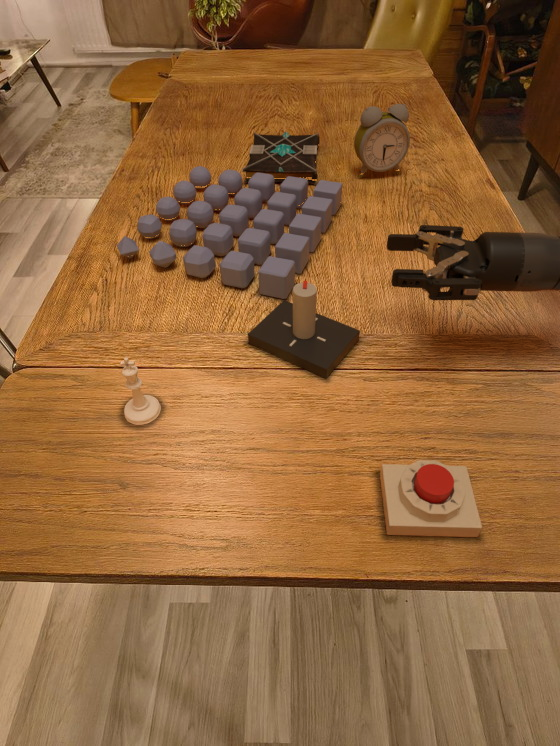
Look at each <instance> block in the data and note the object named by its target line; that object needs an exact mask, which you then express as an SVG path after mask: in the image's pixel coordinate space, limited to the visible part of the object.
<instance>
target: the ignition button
mask: <svg viewBox="0 0 560 746" xmlns="http://www.w3.org/2000/svg"><path fill="white" fill-rule="evenodd" d="M453 486H454V479H453V477H452V475H451V473H450V472H449V471H448V470H447V469H446V468H444V467H442V466H440V465H436V464H427V465H424V466H422V467H421V468H420V469H419V470H418V472H417V475H416V478H415V481H414V488H415V491H416V493H417V494H418V496H419V497H420V498H421V499H423V500H425V501H427V502H429V503H435V504H436V503H442V502H444V501H446V500H447V499H448V498H449V496H450V494H451V491H452V489H453Z"/></svg>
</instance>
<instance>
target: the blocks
mask: <svg viewBox="0 0 560 746" xmlns="http://www.w3.org/2000/svg"><path fill="white" fill-rule="evenodd" d="M188 178H189V181H188V180H180V181H178V182H176V184H175V185H174V187H173V189H172V190H173V192H172V194H173V197H171V196H169V195H167V196H164V197H161V198H160V199H159V200H157V202H156V204H155V206H156V207H155V212H156V214H157V216H156V215H155V214H154V213H152V214H151V213H150V214H145V215H142V216H140V217H139V218H138V221H137V227H136V230H137V232H138V233H139V235H140V234H141V235H143V236H145V237H155V236H156V235H158V234H159V235H158V236H156V237H155V238H158V237H160V235H161V232H162V226H163V223H162V222H161V220H163V221H165V222H172V221H173V222H172V223H171V224H170V227H169V239H170V241H171V243H172V244H174V245H175V246H177V247H180V248H186V247H190V246H191V248H190V249H189V250H188V251H187V252H186V253H185V254H184V255H183V256H182V261H183V266H184V271H185V272H186V274H187V275H189V276H191V277H194V278H201V279H206V278H207V277H208V276H209V275H211V274H212V272H213V271H214V270H215V269H216V258H215V256H218V257H223V259H222V260H221V262H219V271H220V280H221V282H222V284H223V285H224V286H228V287H233V288H238V289H242V290H244V289H245V288H246V287H248V286H249V284H250V283H251V282H252V280H253V279H254V277H255V276H256V274H255V273H256V272H255V265H259V266H260V268H259V269H258V273H257V275H258V289H259V290H258V291H259V295H263V296H267V297H271V298H272V297H273V298H275V299H276V298H277V299H281V300H282V299H283V300H287V298H288V297H289V295H290V293H291V292H292V291H293V287H294V286H295V285H296V274H298V275H301V274H302V272H303V271H304V269H305V268H306V266H307V264H308V262H309V260H310V253H314V252H315V250H316V248H317V247H318V246H319V243H320V241H321V240H322V238H321V237H322V234H325V233H326V231H327V230H328V228H329V226H330V225H331V223H332V219H333V218H332V216H336V215H337V213H338V210H339V209H340V207H341V205H342V197H343V183H342V182H338V181H330V180H324V179H319V181H318V182H317V185H315V187H314V188H313V190H312V195H308V194H309V193H308V192H309V183H308V180H307V179H305V178H298V177H291V176H288V177H286V179H285V180H284V181H283V182H281V183H280V185H279V191H276V183H275V180H274V177H273V175H271V174H265V173H255V174H254V175H253V176H252V177H251V178H250V180H249V182H247V185H248V187H243V177H242V174H241V173H240V172H239V171H238V170H236V169H235V170H234V169H225V170H223V171H222V172H221V173H220V175H219V176H218V184H211V183H210V182H212V175H211V172H210V170H209V168H206V166H202V165H198V166H195V167H193V168H192V169H191V170H190V172H189V177H188ZM208 184H210V185H209V186H207V187H205V188H195V186H201V187H202V186H206V185H208ZM197 190H204V192H203V200H196V197H197ZM237 192H238V193H237ZM228 193H235V194H228ZM229 196H234V197H233V198H234V200H233V201H234V204H232V203H231V204H229V199H230V197H229ZM307 196H308V197H307ZM305 199H306V200H305ZM192 200H194V201H192ZM178 201H180V202H190V201H192V202H190V203H180V202H178ZM303 202H304V203H303ZM340 202H341V203H340ZM263 203H266V206H267V207H266V208H263ZM302 203H303V204H302ZM180 204H181V205H186V206H187V205H189V206H188V207H187V209H186V210H187V211H186V217H187V218H181V219H177V218H178V217H179V215H180V213H181V205H180ZM301 204H302V205H301ZM298 205H300V206H298ZM338 205H339V206H338ZM337 207H338V208H337ZM215 209H217V210H215ZM219 209H220V210H219ZM297 209H298V210H299V209H300V210H301V213H297ZM215 212H219V215H218V221H219V222H214V221H213V220H214V217H215V215H214V213H215ZM158 215H159V216H158ZM177 216H178V217H177ZM160 217H161V218H160ZM175 217H176V218H175ZM162 218H164V219H172V218H175V219H172V220H164V219H162ZM160 219H161V220H160ZM250 219H253V220H252V225H253V227H249V225H250V221H249V220H250ZM196 226H198V227H196ZM285 226H286V227H287V226H288V232H285ZM197 229H204V230H203V233H202V244H203V246H202V245H197V244H196V245H193V244H194V243H195V242H196V239H197V233H198V231H197ZM160 231H161V232H160ZM141 235H140V236H141ZM143 236H142V237H143ZM145 237H143V238H144V239H146V240H150V239H151V238H145ZM234 237H238V239H237V249H238V251H236V250H232V249H233V246H234ZM191 243H192V244H191ZM181 245H182V246H181ZM184 245H185V246H184ZM192 245H193V246H192ZM271 245H275V246H274V256H271V255H270V254H271V251H272V249H271ZM116 248H117V250H118V252H119V254H120V255H121V256H123V257H125V258H126V259H127V258H128V259H130V260H132V259H133V257H134V256H135V255H136V254H137V253H138V252H139V251H140V248H139V246H138V243H137V242H136V240H134V239H132V238H130V237H128V236H126V235H124V236H123V237H122V238H121V239H120V240H119V242H118V243H117V244H116ZM148 253H149V257H150V258H151V261H152V262H153V265H156V266H158V267H160V268H163V269H167V268H168V267H169V266H171V265H172V263H174V262H175V260H176V259H177V253H176V251H175V249H174V248H173V246H172V245H171V244H169V243H167V242H165V241H162V240H158V241H157V242H156V244H154V246H152V248H151V249H150V250H149V251H148ZM131 255H133V256H131ZM127 256H129V257H127Z"/></svg>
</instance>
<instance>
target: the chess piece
mask: <svg viewBox="0 0 560 746" xmlns="http://www.w3.org/2000/svg"><path fill="white" fill-rule="evenodd" d="M119 365H120V367H123V368H121V374H122V376H123V377H124V378H125V379H126V380H125V387H126V389H128V390H131V393H132V398H131V399H130V400H128V401H127V402H126V404H125V406H124V408H123V413H124V418H125V419H126V420H125V421H127V422H129V423H130V424H132V425H137V426H142V425H147V424H150V423H152V422H154V421H155V420H156V419H157V418H158V417H159V416H160V414H161V412H162V411H161V410H162V407H161V406H162V405H161V404H160V402H159V400H158V398H156V397H155V396H153V395H150V394H143V391H142V390H141V387H142V385H143V380H142V379H141V378H140V377H139V376H138V373H139V368H138V366H137V365H136V363H135V361H133V360H129V357H124V358H123V360H121V361H120V363H119Z"/></svg>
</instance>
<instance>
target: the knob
mask: <svg viewBox="0 0 560 746" xmlns="http://www.w3.org/2000/svg"><path fill="white" fill-rule="evenodd" d="M317 295H318V289H317V286H316V285H315V284H314V283H311V282H308V280H302V282H299V283H295V285H294V286H293V288H292V303H293V334H294V336H296V337H297V338H299V339H309V338H311V337H312V336H314V334H315V321H316V313H317Z"/></svg>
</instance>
